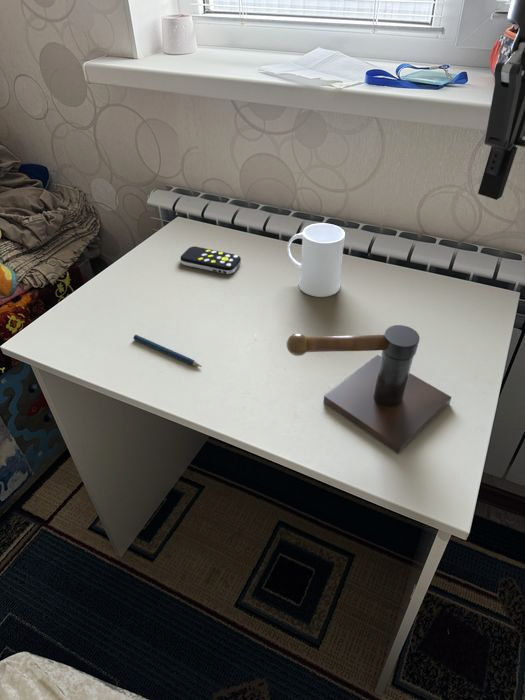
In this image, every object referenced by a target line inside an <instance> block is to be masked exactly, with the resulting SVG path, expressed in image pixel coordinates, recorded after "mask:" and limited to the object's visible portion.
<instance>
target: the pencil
mask: <svg viewBox="0 0 525 700" xmlns="http://www.w3.org/2000/svg"><path fill="white" fill-rule="evenodd" d="M133 340H134V341H136V342H138V343H141V344H143V345H146V346H148V347H150V348H152V349H154V350H157V351H159V352H161V353H164V354H166V355H168V356H170V357H172V358H175V359H176V360H178V361H179V360H180V361H182V362H184V363H186V364H188V365H190V366H192V367H200V368H202V367H203V366H202V365H201V364H200V363H199V362H197V361H196V360H194V359H193V358H190V357H188V356H185V355H183V354H181V353H179V352H177V351H174V350H172V349H169V348H168V347H165V346H162V345H161V344H158V343H156V342H154V341H152V340H149V339H147V338H145V337H142V336H141V335H138V334H135V335H133Z"/></svg>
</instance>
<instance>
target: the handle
mask: <svg viewBox="0 0 525 700" xmlns="http://www.w3.org/2000/svg"><path fill="white" fill-rule="evenodd" d="M420 338H421V337H420V334H419V333H418V332H417V330H415V329H414V328H412V327H410V326H406V325H403V324H395V325H391V326H389V327H387V328H386V329H385V330H384V333H383V334H355V335H354V334H353V335H352V334H351V335H316V336H315V335H314V336H313V335H312V336H311V335H310V336H309V335H308V336H306V334H303V333H300V332H296V333H292V334H291V335H290V336H288V338H287V339H286V349H287V351H288V353H290V355H292V356H295V357H301V356H304V355H305V354H306V353H328V352H330V353H331V352H334V353H335V352H373V351H382V350H383V351H384V352H385V353H386V354H387V355H388V356H390V357H392V358H395V359H400V360H405V359H410V358H412V357H413V356H415V355H416V354H417V350H418V347H419V343H420ZM413 358H414V357H413Z"/></svg>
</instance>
